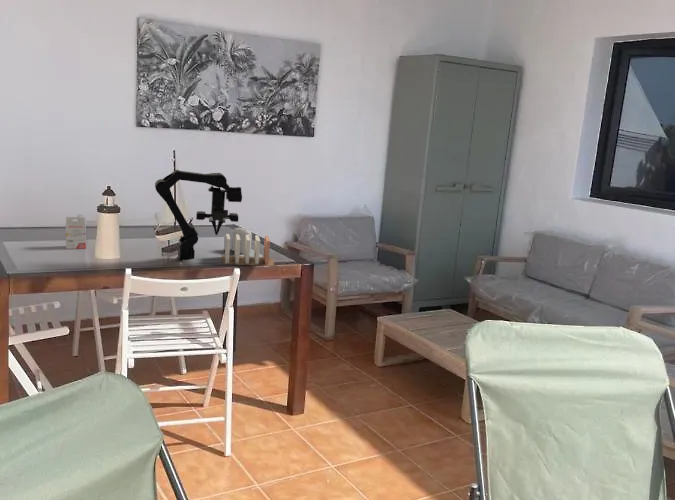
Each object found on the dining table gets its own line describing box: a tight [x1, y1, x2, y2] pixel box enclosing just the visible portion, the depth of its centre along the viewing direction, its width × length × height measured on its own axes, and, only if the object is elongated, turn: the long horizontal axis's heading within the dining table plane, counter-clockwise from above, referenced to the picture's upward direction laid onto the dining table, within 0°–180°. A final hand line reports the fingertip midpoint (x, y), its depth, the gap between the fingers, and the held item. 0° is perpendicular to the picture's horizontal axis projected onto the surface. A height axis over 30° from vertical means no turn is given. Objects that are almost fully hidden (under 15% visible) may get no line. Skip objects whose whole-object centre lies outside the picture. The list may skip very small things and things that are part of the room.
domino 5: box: [262, 235, 271, 264], centre depth 319 cm, size 2×10×11 cm, turn 12°
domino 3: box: [243, 235, 251, 264], centre depth 318 cm, size 2×10×11 cm, turn 12°
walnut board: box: [221, 255, 276, 267], centre depth 319 cm, size 24×14×1 cm, turn 102°
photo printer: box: [231, 227, 253, 255], centre depth 332 cm, size 10×4×12 cm, turn 56°
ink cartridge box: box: [65, 216, 87, 250], centre depth 313 cm, size 9×5×15 cm, turn 112°
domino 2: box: [233, 234, 241, 263], centre depth 317 cm, size 2×10×11 cm, turn 12°
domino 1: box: [224, 233, 231, 263], centre depth 316 cm, size 2×10×11 cm, turn 12°
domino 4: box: [253, 235, 261, 264], centre depth 318 cm, size 2×10×11 cm, turn 11°
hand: (216, 234), depth 314 cm, fingers closed
